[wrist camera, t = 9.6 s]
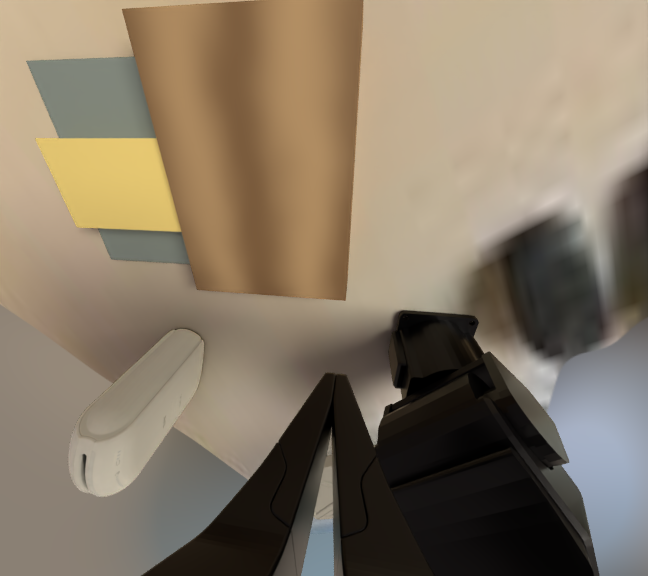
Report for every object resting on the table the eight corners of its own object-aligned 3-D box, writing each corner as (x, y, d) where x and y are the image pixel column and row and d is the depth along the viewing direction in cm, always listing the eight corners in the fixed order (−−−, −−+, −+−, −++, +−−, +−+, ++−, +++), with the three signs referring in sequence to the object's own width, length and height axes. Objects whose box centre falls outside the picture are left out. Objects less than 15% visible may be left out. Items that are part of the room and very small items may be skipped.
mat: (168, 57, 15) (165, 55, 15) (213, 264, 22) (212, 265, 22) (31, 62, 16) (26, 60, 16) (114, 258, 23) (111, 259, 23)
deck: (362, 25, 14) (363, -7, 11) (347, 282, 21) (345, 300, 18) (163, 35, 15) (121, 8, 12) (216, 274, 22) (197, 289, 20)
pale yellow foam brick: (178, 140, 17) (157, 138, 15) (198, 225, 20) (182, 231, 18) (66, 140, 18) (35, 138, 16) (100, 221, 21) (76, 227, 19)
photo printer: (200, 393, 31) (115, 518, 20) (168, 381, 31) (63, 502, 20) (210, 335, 26) (105, 461, 15) (172, 321, 26) (37, 438, 15)
